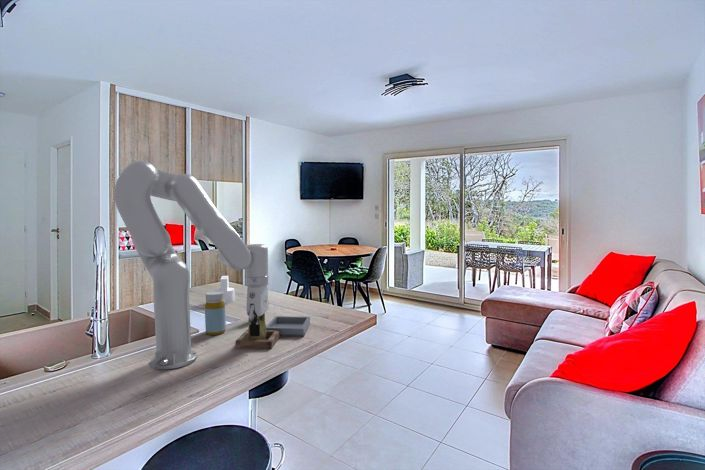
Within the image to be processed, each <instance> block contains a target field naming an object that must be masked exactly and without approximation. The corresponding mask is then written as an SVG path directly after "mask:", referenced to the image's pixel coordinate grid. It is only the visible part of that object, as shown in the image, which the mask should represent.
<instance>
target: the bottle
mask: <svg viewBox="0 0 705 470" xmlns="http://www.w3.org/2000/svg"><path fill="white" fill-rule="evenodd" d="M223 300H224V293H223V291H215V290H212V291H207V292H206V293H205V303H204V319H205V322H204V324H205V333H206V334H207V335H208V336H217V335H221V334H222V335H223V334H224V333H225V332H226V329H227V326H226V325H227V323H226V322H227V320H226V304H225V303H224V301H223Z"/></svg>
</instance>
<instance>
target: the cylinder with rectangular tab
mask: <svg viewBox="0 0 705 470" xmlns="http://www.w3.org/2000/svg"><path fill="white" fill-rule="evenodd" d="M229 277H230V276H229V275H221V277H220V279H219V281H220V288H216V289H214V291H223V293H224V300H223V301H224V303H228V304H230V303H229V302H232V303H234V302H235V301H236V295H235V294H236V292H235V288H234V287H230V285H229V284H230V283H229V280H230V279H229ZM234 300H235V301H234ZM233 301H234V302H233Z"/></svg>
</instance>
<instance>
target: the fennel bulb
mask: <svg viewBox="0 0 705 470" xmlns="http://www.w3.org/2000/svg"><path fill="white" fill-rule="evenodd" d="M249 313H250V312H249ZM254 315H257V314H256V313H254ZM265 315H266V312H265V313H264V314H263V315H262V316H259V324H260V335H259V336H250V321H249V320H248V329H247V330H248V334H249V339H252V340H266V339H267V338H266V326H267V323H266V316H265ZM254 318H255V319H256V317H254Z"/></svg>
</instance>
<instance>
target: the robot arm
mask: <svg viewBox="0 0 705 470" xmlns="http://www.w3.org/2000/svg"><path fill="white" fill-rule="evenodd" d="M113 193H114V195H113V198H114V203H115V206H116V208H117V211H118V214H119V215H120V217H121V219H122V222H123V223H124V225H125V228H126V229H127V231H128V234H129V235H130V236H131V241H132V245H133V247H134V249H135V250H136V253H137V254H138V256H139V258H140V259H141V261H142V263H143V265H144V267H145V268H146V270H147V272H148V273H149V275H150V277H151V278H152V282H153V313H154V327H155V328H154V329H155V330H154V332H155V334H154V335H155V356H153V357H152V358H151V360H150V361H149V363H148V367H149V368H150V369H157V370H171V369H177V368H178V369H179V368H182V367H184V366H188V365H190V364H191V363H193V362H195V361H196V360H197V358H198V354H197V351H195V350H193V349H192V337H191V334H192V333H191V313H190V312H191V309H190V286H191V285H190V284H191V283H190V282H191V275H190V271H189V270H190V269H189V267H188V265H187V264H186V263H185V262H184V261H183V260H182V259H181V258H179V256H178V254H177V253H176V250H175V249H174V247H173V245H172V242H171V236H170V234H169V232H168V231H167V230H166V228H165V226H164V224H163V222H162V221H161V219H160V217H159V215H158V213H157V211H156V208H155V207H154V205H153V203H152V202H153V201H152V199H151V197H155V198H159V199H163V200H166V201H167V200H169V201H172V202H176V203H177V204H178V206H179V207H180V209H182V211H183V212H184V213H185V215H186V216H187V218H188V220H189V221H190V222H191V224H192V225H193V226H194V227H195V229H197V230H198V232H199V233H200V234H202V235H203V236H204V237H206V238H207V240H209V241H210V242H211V243H212V244H213V245H214V246H215V247H216V249H217V250H218V251H219V254H218V258H219V260H220V261H219V262H221V264H222V265H224V266H226V267H228V268H230V269H232V270H235V271H245V274H244V275H245V278H244V282H245V285H244V286H246V287H247V288H246V289H247V290H246V315H247V316H248V322H249V321H250V336H259V335H260V324H259V316H262V315H263V314H264V313H265V314H266V312H267V311H268V310H269V308H270V307H269V306H270V305H269V304H270V303H269V291H268V289H269V288H268V285H269V250H268V246H267V245H266V244H262V243H252V244H246V243H245V242H244V241H243V239H242V238H241V236H240V235H239V234H238V232H237V231H236V230H235V229H234V227H233V226H232V225H231V224H230V223H229V221H228V220H227V219H226V217H224V215H222V213H221V212H220V211H219V209H218V208H217V207H216V205H215V204H214V202H213V201H212V199H211V198H210V196H209V194H208V193H207V191H206V190H205V189H204V188H203V186H202V184H201V183H200V182H199V181H198V179H197V178H196V177H195V176H193V175H191V174H190V173H189V174H188V173H180V174H177V173H172V172H168V171H164V170H160V169H157V168H156V167H155V165H153V164H152V163H150V162H148V161H145V160H137V161H134V162H131V163H129V164H128V165H127V166H126V167H125V168H124V169H123V170H122V172H121V173H120V175H119V176H118V178H117V180H116V182H115V185H114V191H113ZM249 312H250V313H249ZM254 313H256V314H257V315H254ZM254 317H256V319H255V318H254Z"/></svg>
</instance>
